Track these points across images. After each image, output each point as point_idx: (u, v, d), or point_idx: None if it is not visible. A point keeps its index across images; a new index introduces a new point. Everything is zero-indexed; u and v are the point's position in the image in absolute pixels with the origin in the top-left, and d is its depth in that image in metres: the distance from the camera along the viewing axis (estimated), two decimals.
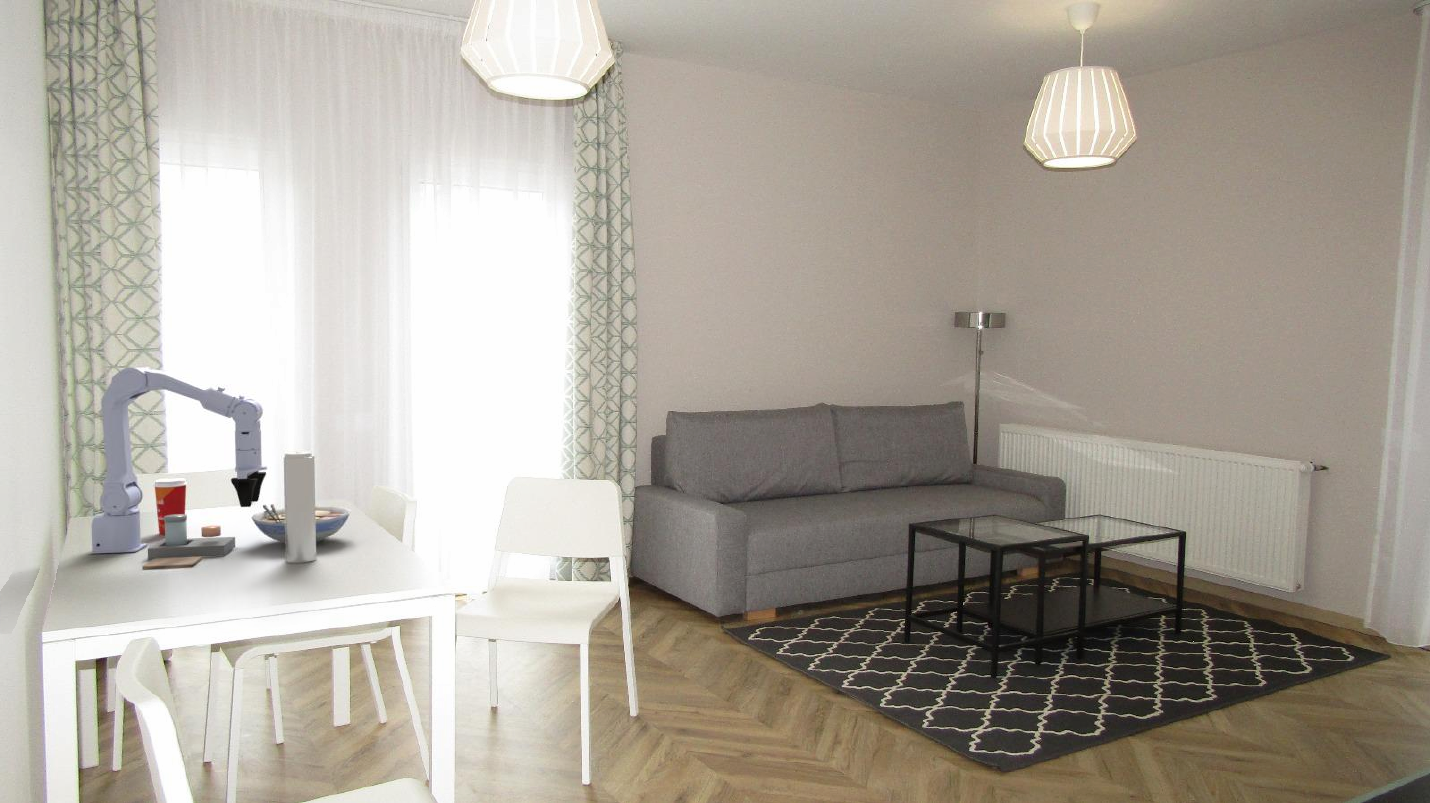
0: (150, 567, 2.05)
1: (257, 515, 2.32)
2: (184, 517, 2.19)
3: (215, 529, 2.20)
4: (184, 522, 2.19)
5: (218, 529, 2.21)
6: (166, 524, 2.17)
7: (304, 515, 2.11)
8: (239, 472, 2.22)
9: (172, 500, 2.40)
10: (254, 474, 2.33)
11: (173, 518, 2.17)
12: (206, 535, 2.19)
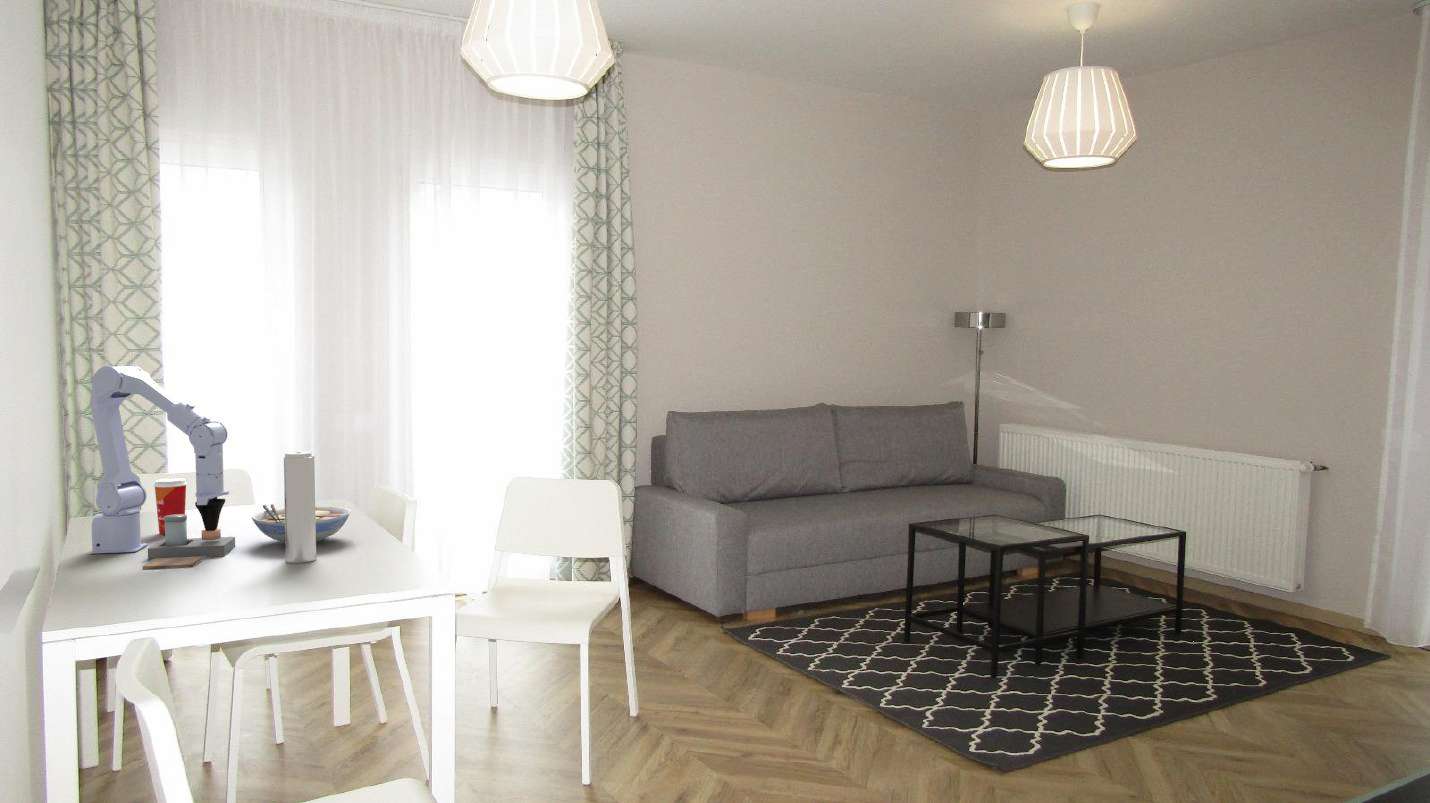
0: (150, 567, 2.05)
1: (257, 515, 2.32)
2: (184, 517, 2.19)
3: (215, 532, 2.20)
4: (184, 522, 2.19)
5: (218, 532, 2.21)
6: (166, 524, 2.17)
7: (304, 515, 2.11)
8: (199, 498, 2.13)
9: (172, 500, 2.40)
10: None
11: (173, 518, 2.17)
12: (206, 538, 2.19)
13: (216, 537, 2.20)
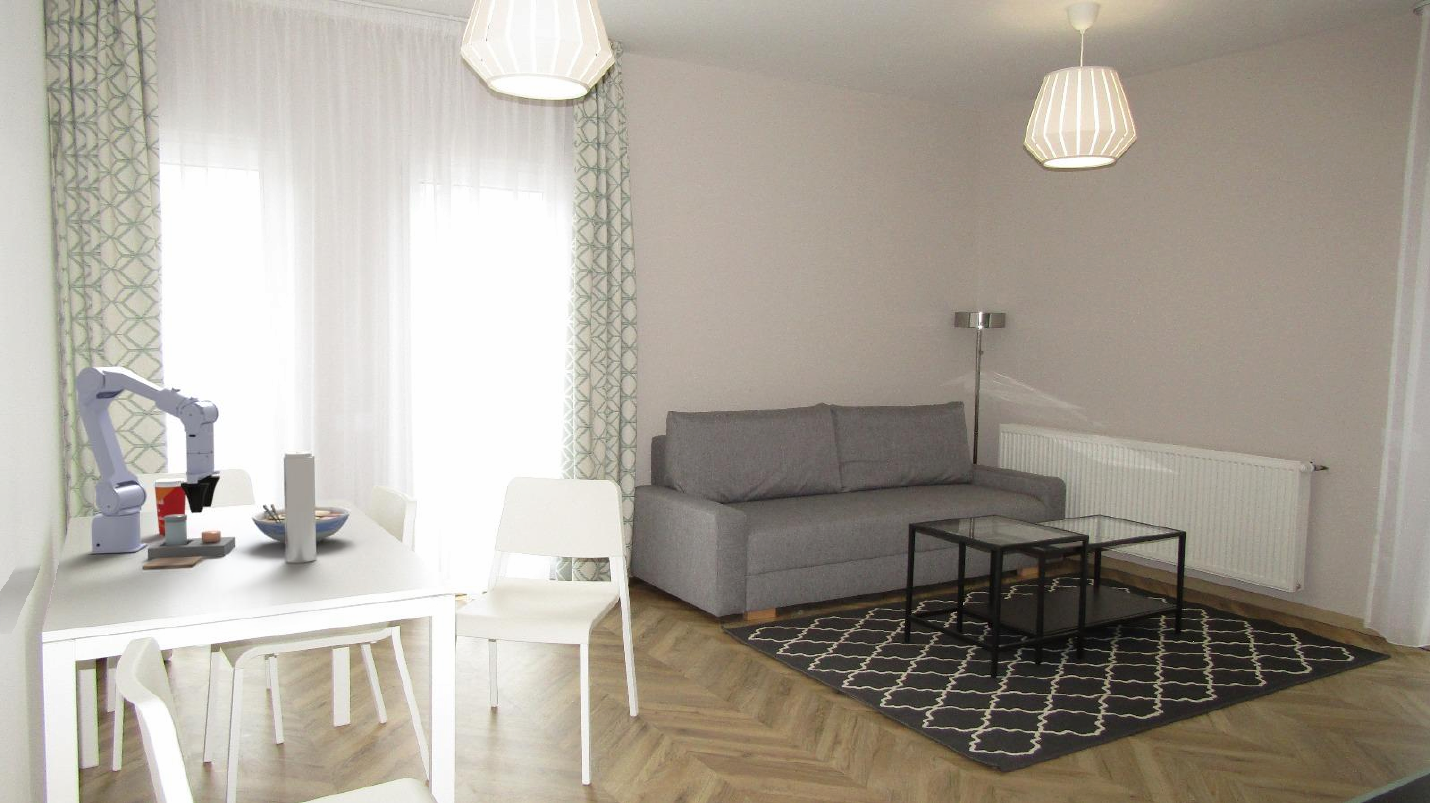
0: (150, 567, 2.05)
1: (257, 515, 2.32)
2: (184, 517, 2.19)
3: (215, 534, 2.20)
4: (184, 522, 2.19)
5: (218, 534, 2.21)
6: (166, 524, 2.17)
7: (304, 515, 2.11)
8: (189, 476, 2.13)
9: (172, 500, 2.40)
10: (207, 478, 2.24)
11: (173, 518, 2.17)
12: (206, 540, 2.19)
13: (216, 539, 2.20)
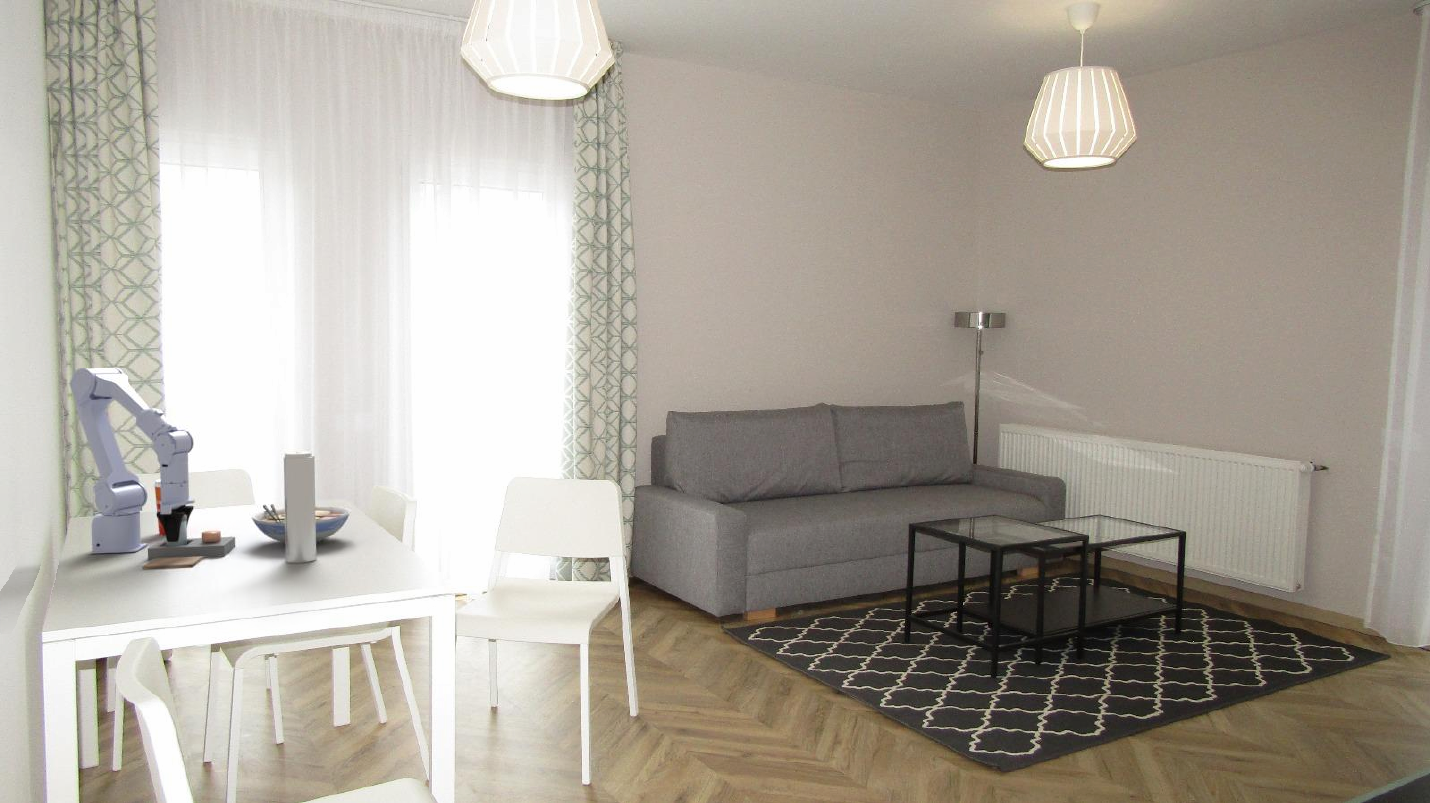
0: (150, 567, 2.05)
1: (257, 515, 2.32)
2: (184, 517, 2.19)
3: (215, 534, 2.20)
4: (184, 522, 2.19)
5: (218, 534, 2.21)
6: None
7: (304, 515, 2.11)
8: (162, 507, 2.12)
9: None
10: (180, 508, 2.21)
11: None
12: (206, 540, 2.19)
13: (216, 539, 2.20)
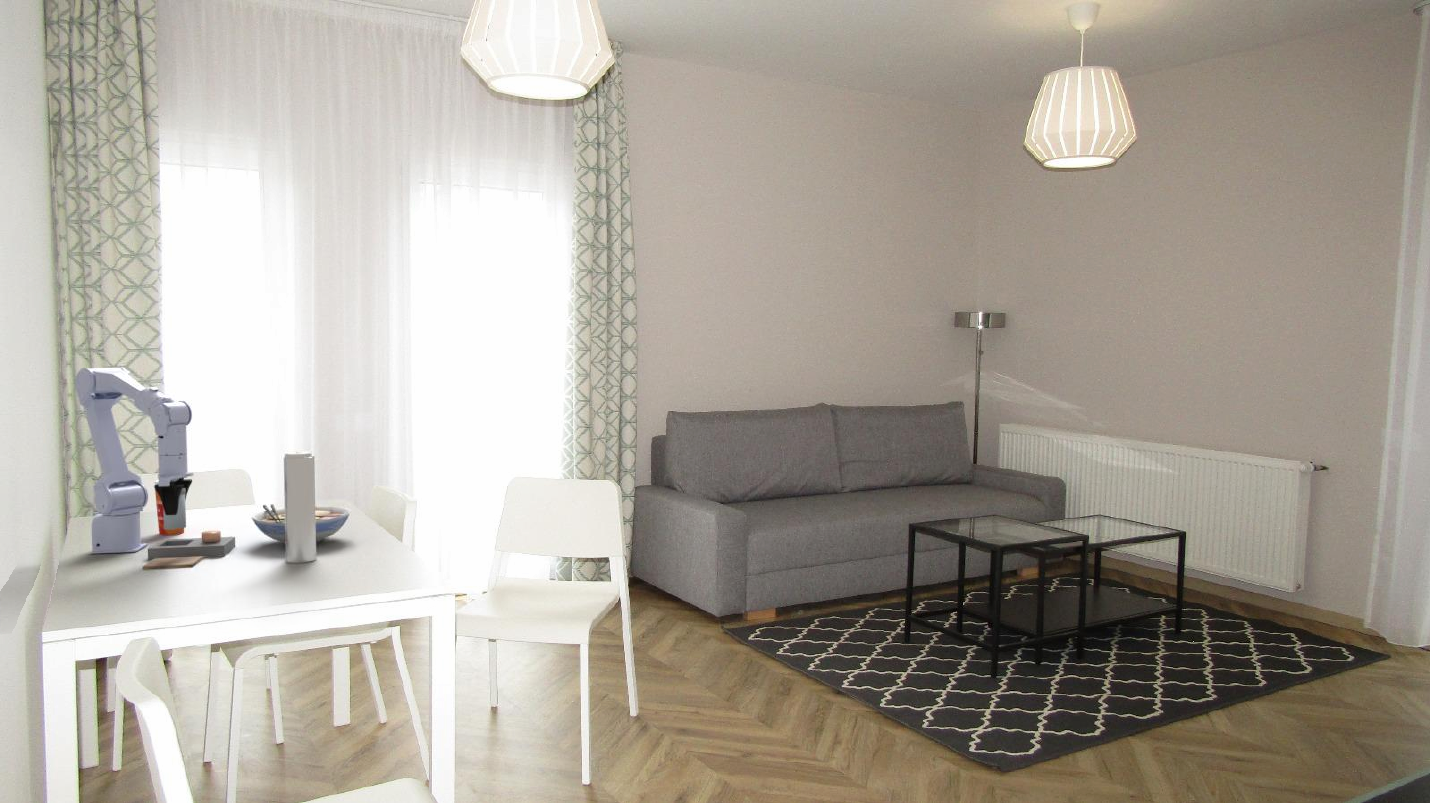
0: (150, 567, 2.05)
1: (257, 515, 2.32)
2: (183, 490, 2.14)
3: (215, 534, 2.20)
4: (183, 495, 2.14)
5: (218, 534, 2.21)
6: None
7: (304, 515, 2.11)
8: (161, 479, 2.07)
9: None
10: (178, 482, 2.17)
11: None
12: (206, 540, 2.19)
13: (216, 539, 2.20)
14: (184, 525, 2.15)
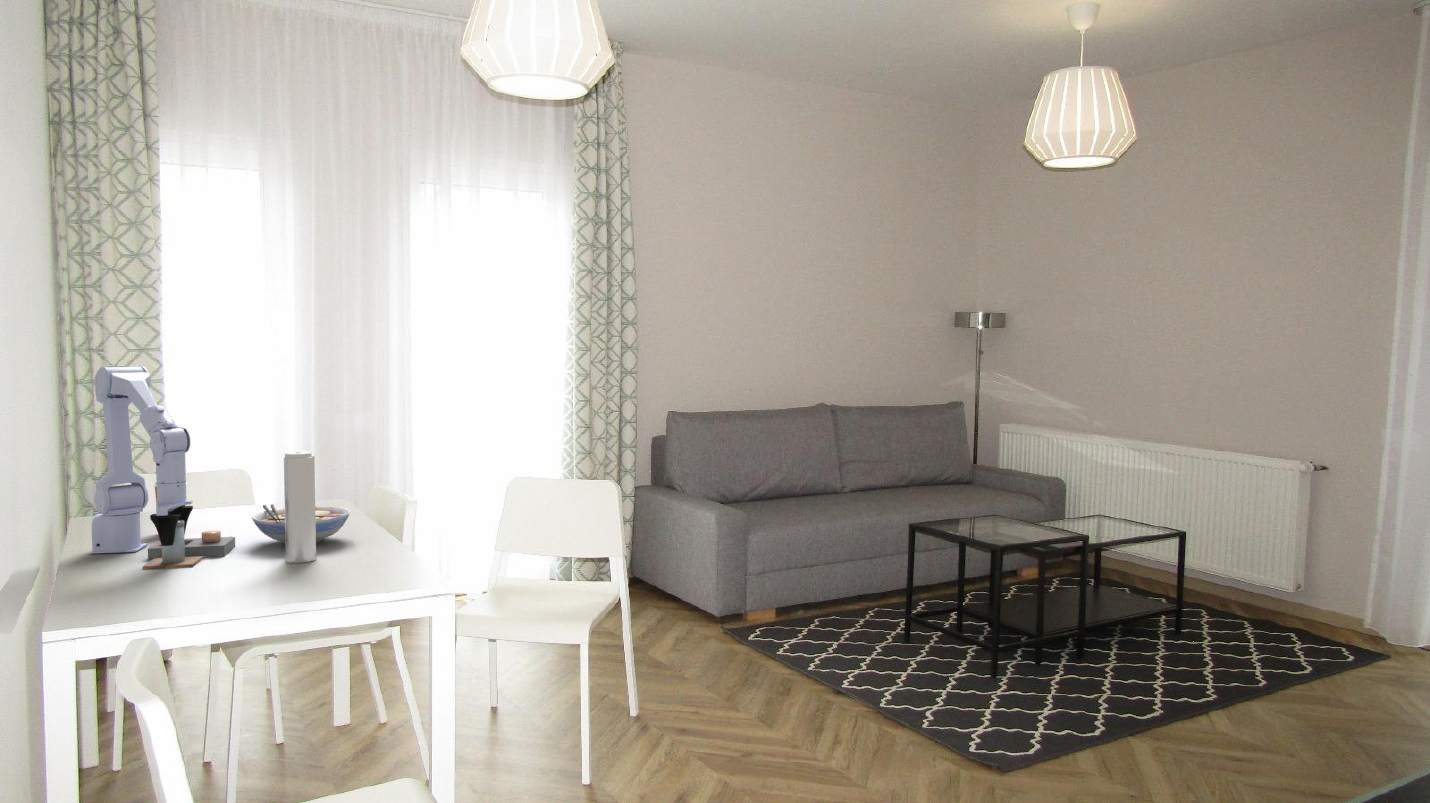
0: (150, 567, 2.05)
1: (257, 515, 2.32)
2: (181, 523, 2.09)
3: (215, 534, 2.20)
4: (181, 528, 2.09)
5: (218, 534, 2.21)
6: None
7: (304, 515, 2.11)
8: (158, 508, 2.02)
9: None
10: (179, 508, 2.13)
11: None
12: (206, 540, 2.19)
13: (216, 539, 2.20)
14: (183, 559, 2.09)
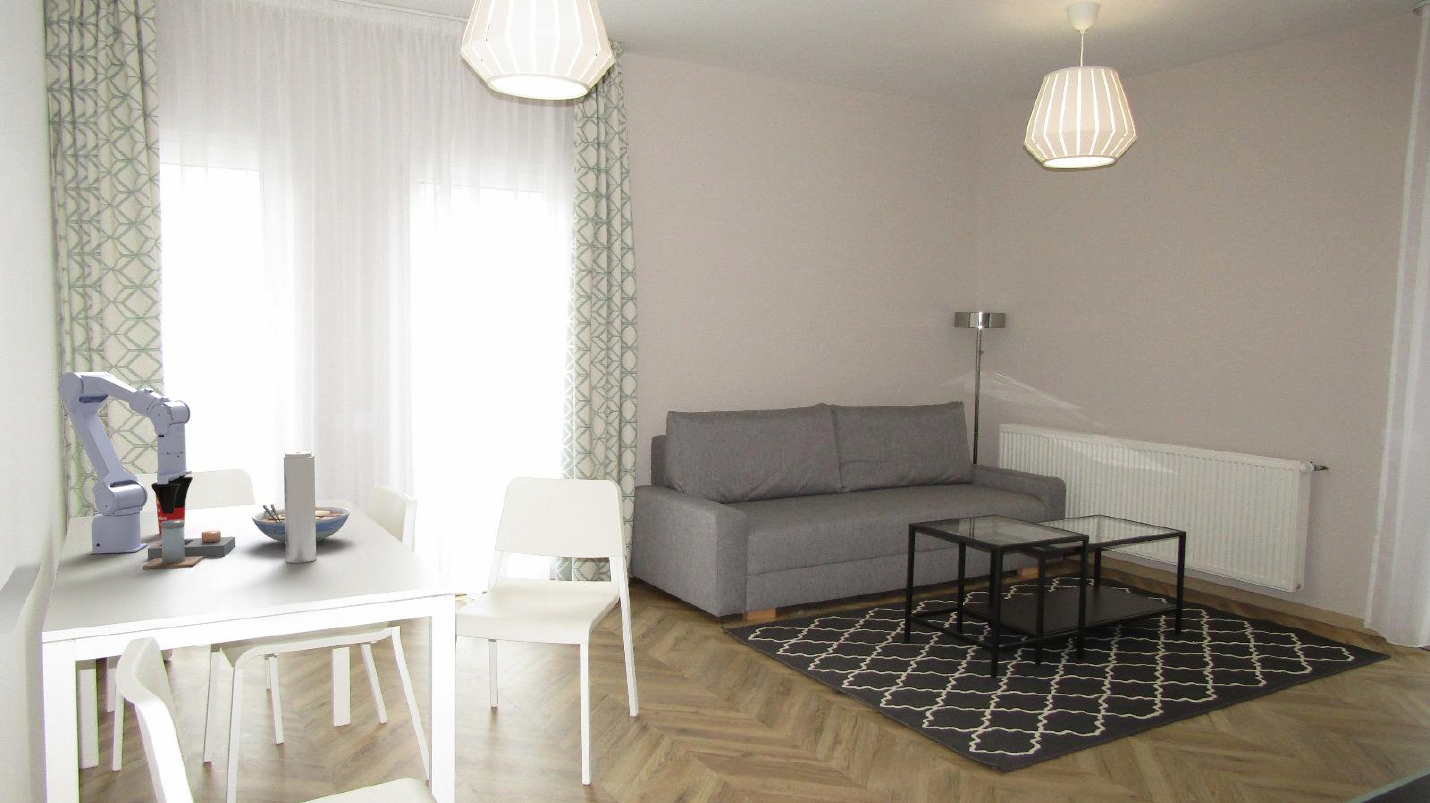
0: (150, 567, 2.05)
1: (257, 515, 2.32)
2: (181, 523, 2.09)
3: (215, 534, 2.20)
4: (181, 528, 2.09)
5: (218, 534, 2.21)
6: (163, 530, 2.07)
7: (304, 515, 2.11)
8: (159, 477, 2.11)
9: None
10: (179, 479, 2.22)
11: (170, 524, 2.07)
12: (206, 540, 2.19)
13: (216, 539, 2.20)
14: (183, 558, 2.09)
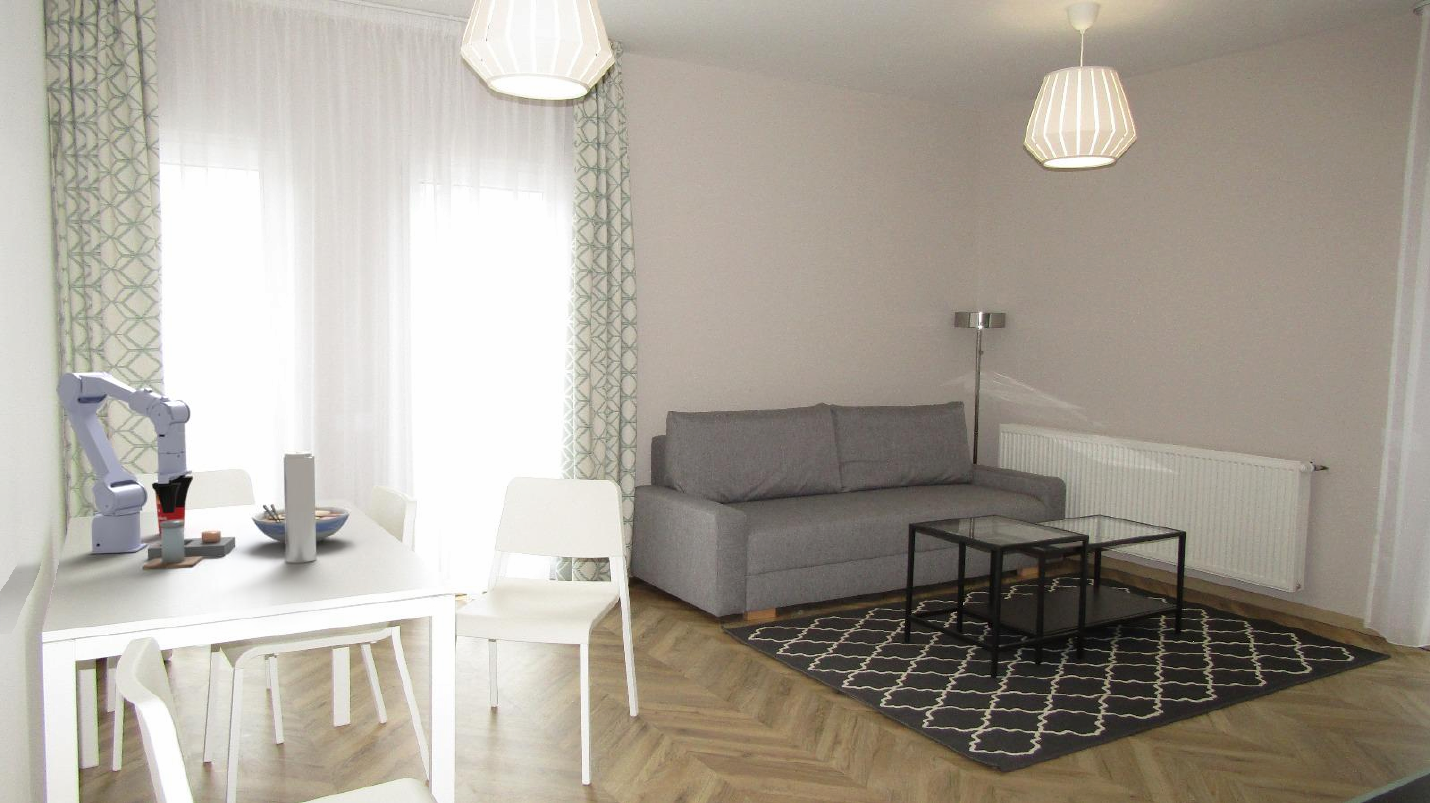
0: (150, 567, 2.05)
1: (257, 515, 2.32)
2: (181, 523, 2.09)
3: (215, 534, 2.20)
4: (181, 528, 2.09)
5: (218, 534, 2.21)
6: (162, 530, 2.07)
7: (304, 515, 2.11)
8: (160, 476, 2.11)
9: None
10: (180, 479, 2.22)
11: (169, 524, 2.07)
12: (206, 540, 2.19)
13: (216, 539, 2.20)
14: (183, 558, 2.09)
